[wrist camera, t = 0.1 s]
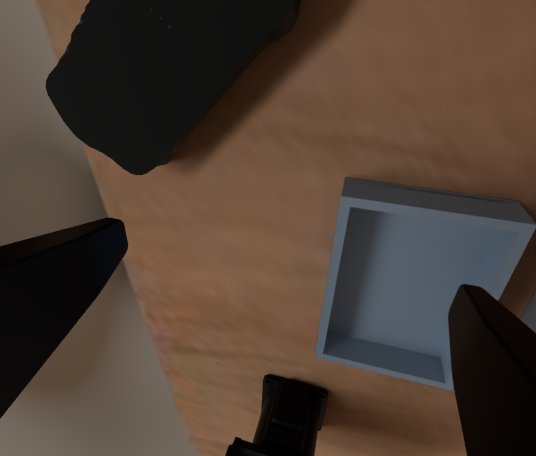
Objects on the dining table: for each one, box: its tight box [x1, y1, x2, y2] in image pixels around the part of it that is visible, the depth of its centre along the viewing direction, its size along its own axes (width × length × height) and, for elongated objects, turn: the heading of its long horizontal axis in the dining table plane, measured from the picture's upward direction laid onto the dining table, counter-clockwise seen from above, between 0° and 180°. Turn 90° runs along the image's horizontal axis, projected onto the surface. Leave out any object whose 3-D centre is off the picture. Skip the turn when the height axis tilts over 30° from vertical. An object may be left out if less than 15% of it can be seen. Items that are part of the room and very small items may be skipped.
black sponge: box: [46, 0, 301, 175], centre depth 20 cm, size 16×8×4 cm, turn 134°
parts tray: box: [315, 177, 536, 391], centre depth 24 cm, size 14×10×3 cm
